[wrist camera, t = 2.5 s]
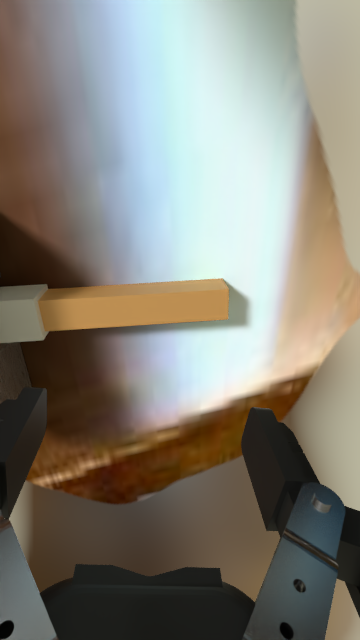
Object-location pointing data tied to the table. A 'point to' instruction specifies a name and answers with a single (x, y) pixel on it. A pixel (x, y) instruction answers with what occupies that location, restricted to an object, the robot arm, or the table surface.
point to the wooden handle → (107, 306)
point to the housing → (12, 371)
